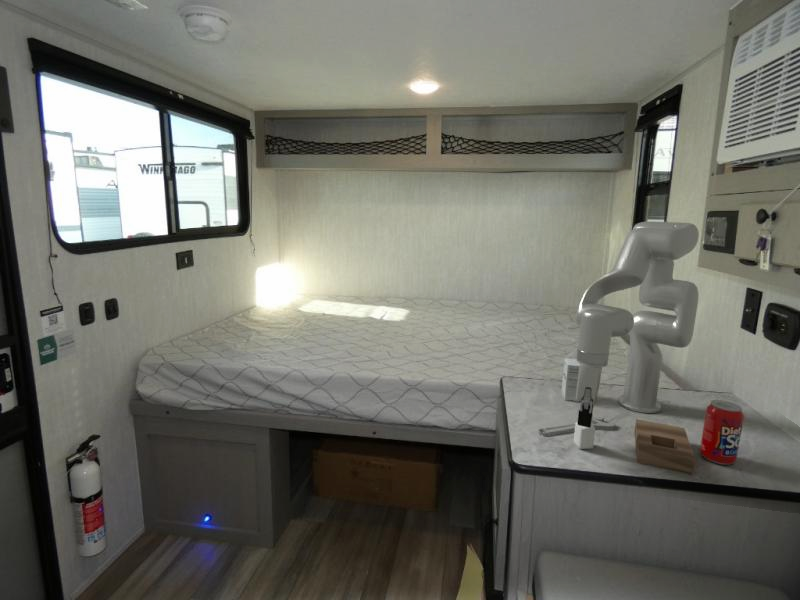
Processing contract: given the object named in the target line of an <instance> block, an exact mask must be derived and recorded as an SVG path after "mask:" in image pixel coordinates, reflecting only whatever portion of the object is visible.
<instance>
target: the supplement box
mask: <svg viewBox="0 0 800 600" xmlns="http://www.w3.org/2000/svg"><path fill="white" fill-rule="evenodd" d="M576 359H577V358H566V357H565V358H564V362H563V370H562V382H561V394H562V397H563V399H565V400H564V401H568V400H573V401H572V402H578V401H581V400H578V401H577V400H576V391H577V382H578V374H579V368H580V363H578V362H577V361H576Z"/></svg>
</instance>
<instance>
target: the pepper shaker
mask: <svg viewBox="0 0 800 600" xmlns="http://www.w3.org/2000/svg"><path fill="white" fill-rule="evenodd" d="M593 417H594V414H593V413H592V420H593ZM592 420H591V427H590V428H589V427H584V426H579V425H578V424H577V423H578V421H576V422H575V423H574V424H575V432H574V435H573V444H574V445H575V446H576V447H577V448H578V449H579V450H592V449H593V448H594V443H595V434H596V433H595V432H596V429H595V427H594V426H593V425H592Z"/></svg>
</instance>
